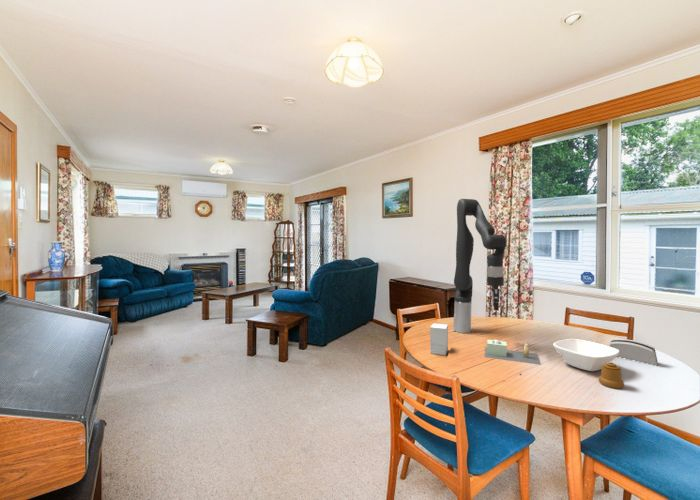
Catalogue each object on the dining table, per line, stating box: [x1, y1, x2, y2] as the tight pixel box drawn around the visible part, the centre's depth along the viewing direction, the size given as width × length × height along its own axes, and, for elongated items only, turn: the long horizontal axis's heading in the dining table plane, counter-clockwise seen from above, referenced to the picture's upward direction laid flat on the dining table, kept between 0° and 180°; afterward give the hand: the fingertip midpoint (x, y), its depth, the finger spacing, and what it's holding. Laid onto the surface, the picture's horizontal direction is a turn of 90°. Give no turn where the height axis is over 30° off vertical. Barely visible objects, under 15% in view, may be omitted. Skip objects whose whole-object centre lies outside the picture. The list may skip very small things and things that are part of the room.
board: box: [483, 339, 542, 366], centre depth 151 cm, size 22×14×8 cm, turn 66°
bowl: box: [552, 338, 619, 372], centre depth 141 cm, size 21×21×9 cm
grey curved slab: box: [609, 338, 658, 366], centre depth 149 cm, size 17×5×10 cm, turn 42°
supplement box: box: [429, 323, 449, 356], centre depth 159 cm, size 7×7×13 cm
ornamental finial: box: [598, 362, 625, 390], centre depth 125 cm, size 8×8×8 cm
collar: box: [486, 339, 508, 357], centre depth 153 cm, size 8×6×5 cm
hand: (495, 308), depth 165 cm, fingers open, 8 cm apart
